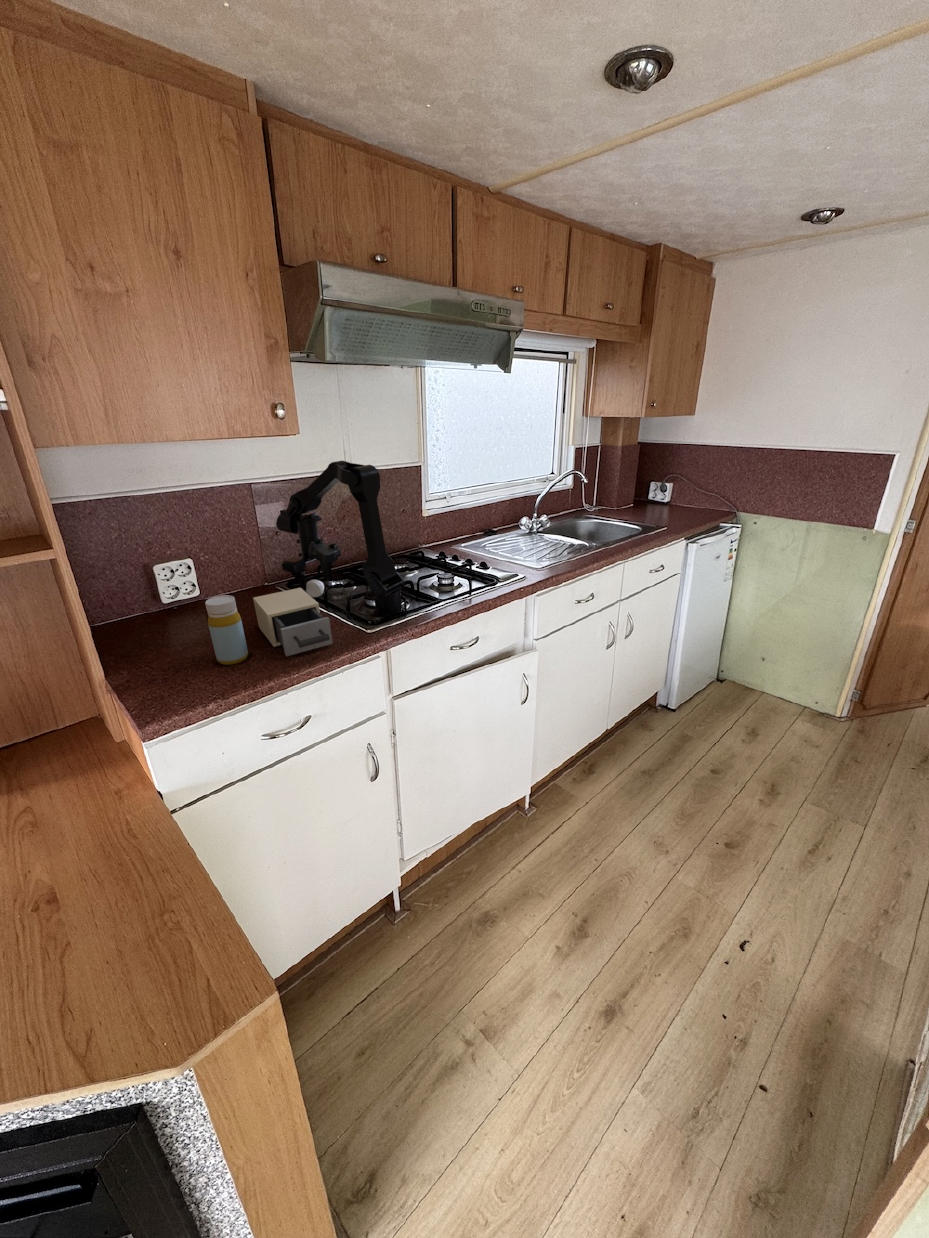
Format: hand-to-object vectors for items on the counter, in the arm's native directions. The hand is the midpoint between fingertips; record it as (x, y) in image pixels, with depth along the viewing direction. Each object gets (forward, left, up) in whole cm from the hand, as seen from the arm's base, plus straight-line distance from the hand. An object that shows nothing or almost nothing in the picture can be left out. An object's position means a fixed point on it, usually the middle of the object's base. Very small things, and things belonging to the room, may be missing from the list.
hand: (316, 585), depth 164 cm
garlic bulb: (0, 0, -3) cm, 3 cm away
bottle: (+31, +30, -3) cm, 43 cm away
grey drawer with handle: (+15, +34, -2) cm, 37 cm away
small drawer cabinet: (+15, +22, -3) cm, 27 cm away
